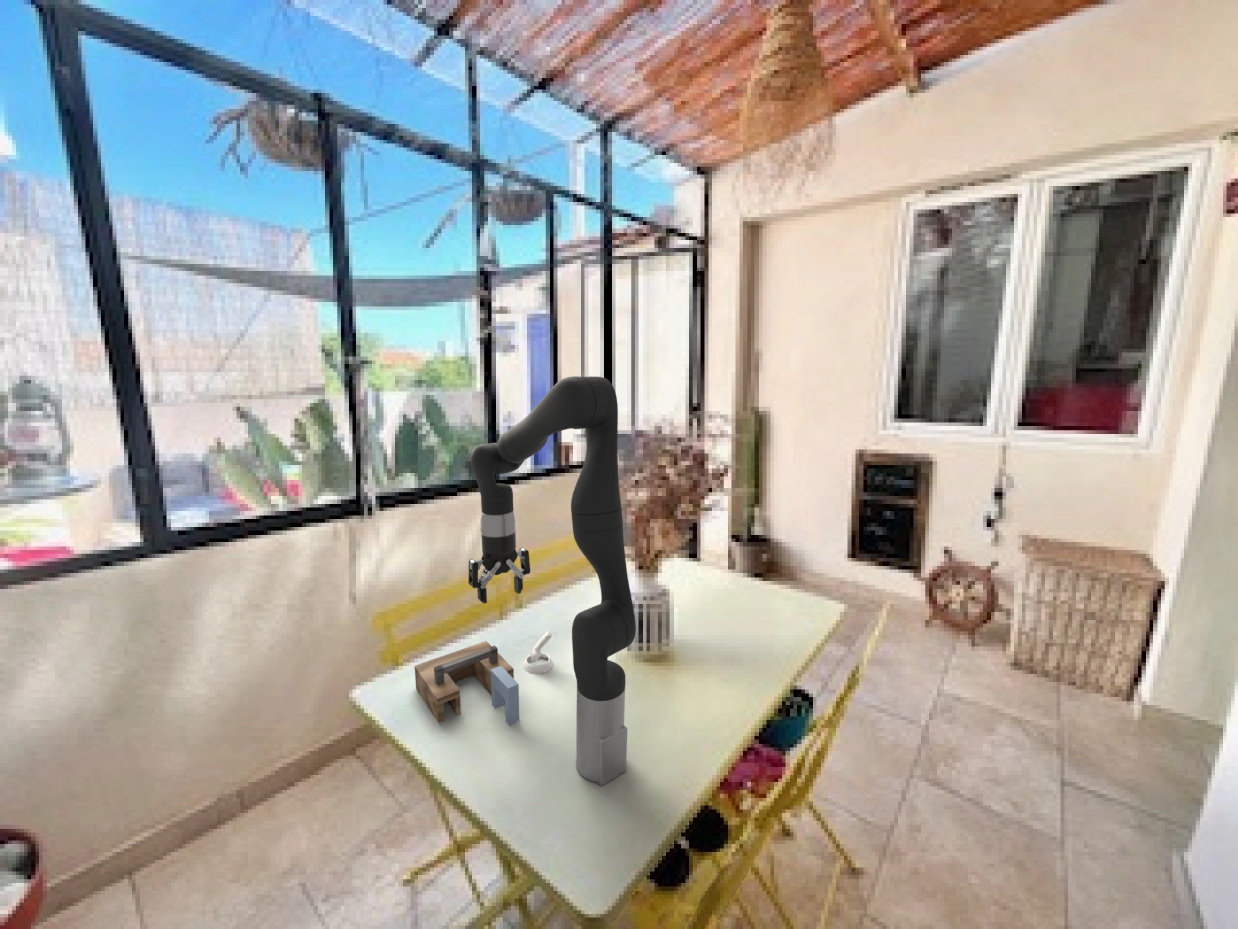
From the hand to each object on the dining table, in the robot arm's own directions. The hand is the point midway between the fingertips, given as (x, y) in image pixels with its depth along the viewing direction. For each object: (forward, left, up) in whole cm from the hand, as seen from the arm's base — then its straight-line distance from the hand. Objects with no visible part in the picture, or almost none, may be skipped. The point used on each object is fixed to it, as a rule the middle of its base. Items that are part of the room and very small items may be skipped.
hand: (501, 597), depth 117 cm
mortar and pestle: (+3, -11, -24) cm, 26 cm away
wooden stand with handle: (+4, +8, -23) cm, 25 cm away
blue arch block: (-9, +4, -23) cm, 25 cm away
